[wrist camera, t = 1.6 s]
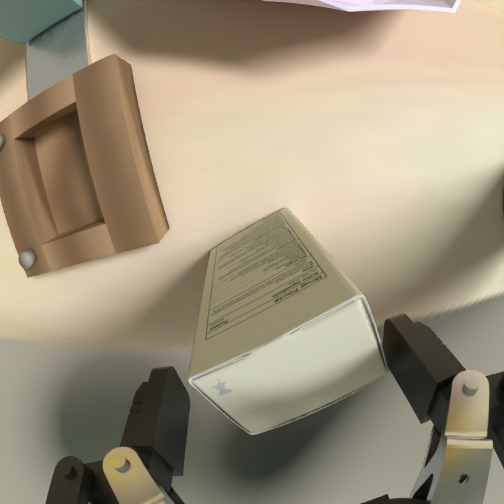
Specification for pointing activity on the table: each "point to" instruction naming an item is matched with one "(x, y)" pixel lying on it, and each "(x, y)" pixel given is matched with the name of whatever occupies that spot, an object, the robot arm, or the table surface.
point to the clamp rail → (58, 52)
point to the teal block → (32, 16)
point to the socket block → (79, 171)
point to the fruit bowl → (382, 4)
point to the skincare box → (280, 328)
